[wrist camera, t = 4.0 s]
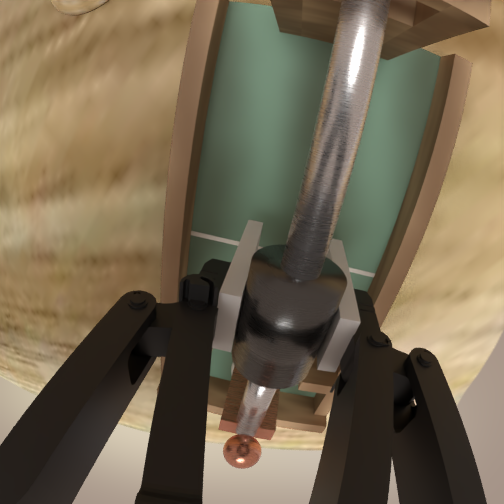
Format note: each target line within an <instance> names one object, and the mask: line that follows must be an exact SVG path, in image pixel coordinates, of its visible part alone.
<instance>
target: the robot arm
mask: <svg viewBox="0 0 504 504" xmlns="http://www.w3.org/2000/svg"><path fill="white" fill-rule="evenodd" d="M262 227H263V223H262V222H258V221H253V220H248V223H247V225H246V228H245V230H244V233H243V235H242V237H241V240H240V242H239V245H238V247H237V250H236V252H235V255H234V257H233V260H232V262H227V261H222V260H218V259H213V258H212V259H210V260H209V261H207V262H206V263H205V264H204V265H203V267H202V269H201V271H200V273H199V274H191V275H187V276H185V277H183V278H182V279H181V281H180V285H179V302H175V303H156V299H155V297H154V296H153V295H152V294H150V293H148V292H145V291H131V292H128V293H126V294H125V295H123V296H122V297H121V298H120V299H119V300H118V301H117V303H116V304H115V305H114V306H113V307H112V308H111V309H110V310H109V311H108V313H107V314H106V315H105V316H104V317H103V318H102V319H101V320H100V322H99V323H98V324H97V325H96V326H95V327H94V328H93V330H92V331H91V332H90V333H89V334H88V335H87V336H86V338H85V339H84V340H83V341H82V342H81V343H80V345H79V346H78V347H77V348H76V349H75V350H74V352H73V353H72V354H71V355H70V356H69V358H68V359H67V360H66V361H65V362H64V364H63V365H62V366H61V367H60V368H59V370H58V371H57V372H56V373H55V375H54V376H53V377H52V378H51V380H50V381H49V382H48V383H47V385H46V386H45V387H44V388H43V390H42V391H41V392H40V393H39V395H38V396H37V397H36V398H35V400H34V401H33V402H32V404H31V405H30V406H29V408H28V409H27V410H26V411H25V413H24V414H23V415H22V417H21V418H20V420H19V421H18V422H17V423H16V425H15V426H14V427H13V429H12V430H11V432H10V433H9V434H8V436H7V437H6V438H5V440H4V441H3V443H2V444H1V445H0V504H72V502H73V501H74V499H75V497H76V495H77V494H78V492H79V490H80V488H81V486H82V485H83V482H84V481H85V479H86V477H87V476H88V474H89V472H90V470H91V469H92V467H93V465H94V463H95V461H96V460H97V458H98V456H99V454H100V453H101V451H102V449H103V448H104V446H105V444H106V442H107V441H108V438H109V437H110V435H111V434H112V432H113V430H114V429H115V427H116V425H117V423H118V422H119V420H120V418H121V417H122V415H123V413H124V412H125V410H126V408H127V406H128V405H129V403H130V401H131V400H132V398H133V396H134V395H135V393H136V391H137V390H138V388H139V386H140V385H141V383H142V381H143V380H144V378H145V376H146V375H147V373H148V371H149V370H150V368H151V366H152V365H153V363H154V361H155V360H156V358H157V357H165V362H164V366H163V371H162V376H161V380H160V385H159V390H158V395H157V400H156V405H155V410H154V415H153V420H152V426H151V431H150V437H149V443H148V448H147V454H146V460H145V466H144V472H143V478H142V485H141V488H140V490H139V492H138V493H137V496H136V500H135V504H202V491H203V490H202V489H203V471H204V470H203V469H204V452H205V436H206V421H207V407H208V393H209V380H210V367H211V355H212V348H215V349H219V350H223V351H227V352H231V350H232V347H233V343H234V339H235V335H236V330H237V325H238V320H239V316H240V311H241V306H242V301H243V297H244V292H245V287H246V283H247V278H248V273H249V269H250V264H251V259H252V256H253V254H254V253H255V252H256V251H257V250H258V246H259V241H260V236H261V231H262ZM326 257H327V258H329V259H330V260H332V261H333V262H334V263H336V264H337V265H338V266H339V267H340V268H341V269H342V271H343V272H344V274H345V276H346V278H347V287H346V290H345V292H344V294H343V297H342V299H341V302H340V304H339V306H338V309H337V311H336V314H335V316H334V318H333V321H332V323H331V325H330V327H329V330H328V332H327V334H326V336H325V339H324V341H323V343H322V345H321V347H320V349H319V352H318V354H317V370H322V371H328V372H336V370H337V368H338V366H339V364H340V369H341V372H340V374H339V376H338V377H337V379H336V381H335V383H334V385H333V386H332V388H331V390H330V393H332V392H333V390H334V389H335V390H334V396H333V401H332V407H331V412H330V417H329V422H328V427H327V432H326V436H325V441H324V446H323V450H322V454H321V459H320V463H319V468H318V471H317V475H316V479H315V483H314V487H313V491H312V494H311V498H310V502H309V504H387V501H388V493H389V483H390V473H391V459H392V460H393V465H394V470H395V476H396V483H397V489H398V496H399V503H400V504H487V503H486V499H485V494H484V491H483V487H482V483H481V479H480V476H479V472H478V469H477V465H476V462H475V458H474V455H473V452H472V449H471V446H470V443H469V440H468V437H467V434H466V431H465V428H464V425H463V422H462V419H461V417H460V414H459V411H458V409H457V406H456V403H455V401H454V398H453V396H452V393H451V391H450V388H449V386H448V383H447V381H446V378H445V376H444V374H443V371H442V369H441V367H440V364H439V362H438V360H437V358H436V357H435V355H433V354H432V353H431V352H430V351H428V350H426V349H423V348H414V349H413V350H411V352H410V354H409V355H408V354H406V353H403V352H401V351H398V350H396V349H394V348H392V343H391V340H390V339H389V337H388V336H387V335H385V334H384V333H383V332H381V331H380V327H379V323H378V319H377V316H376V313H375V308H374V305H373V301H372V298H371V297H370V296H369V294H368V293H367V292H366V291H363V290H359V289H354V288H353V284H352V279H351V275H350V271H349V267H348V263H347V259H346V255H345V251H344V247H343V243H342V240H337V239H333V238H332V240H331V243H330V246H329V249H328V252H327V256H326ZM414 399H415V401H416V404H417V405H415V403H414Z"/></svg>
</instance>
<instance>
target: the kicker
mask: <svg viewBox="0 0 504 504" xmlns="http://www.w3.org/2000/svg"><path fill="white" fill-rule="evenodd" d="M389 6H390V0H342V2H341V7H340V13H339V18H338V23H337V28H336V33H335V37H334V42H333V47H332V52H331V57H330V61H329V66H328V71H327V75H326V80H325V84H324V89H323V93H322V98H321V102H320V107H319V111H318V116H317V120H316V124H315V129H314V133H313V137H312V141H311V146H310V150H309V154H308V158H307V162H306V166H305V171H304V175H303V179H302V183H301V187H300V191H299V195H298V199H297V203H296V207H295V211H294V215H293V219H292V222H291V226H290V230H289V234H288V238H287V242H286V245H270V246H266V247H263V248H261V249H259V250H257V251H256V252H255V253H254V254H253V256H252V259H251V264H250V269H249V273H248V278H247V283H246V287H245V292H244V297H243V301H242V306H241V311H240V316H239V320H238V325H237V330H236V335H235V339H234V343H233V348H232V360H233V363H234V369H233V373H232V377H231V381H230V385H229V389H228V393H227V397H226V401H225V405H224V409H223V413H222V417H221V421H220V425H219V430H223V431H227V432H232V433H236V434H238V435H234V436H232V437H231V438H229V439H228V440H227V441H226V443H225V445H224V448H223V454H224V457H225V459H226V461H227V462H228V463H229V464H230V465H232V466H234V467H236V468H241V469H242V468H249V467H251V466H253V465H254V464H256V463H257V462H258V460H259V459H260V456H261V447H260V444H259V442H258V441H257V440H256V439H255V438H253V437H256V438H261V439H267V440H271V438H272V436H273V434H274V432H275V429H276V420H277V412H278V403H279V394H280V389H285V388H290V387H293V386H295V385H297V384H299V383H300V382H302V381H303V380H304V379H305V378H306V376H307V375H308V373H309V371H310V369H311V366H312V364H313V362H314V360H315V358H316V356H317V354H318V352H319V349H320V347H321V345H322V343H323V341H324V339H325V336H326V334H327V332H328V330H329V327H330V325H331V323H332V321H333V318H334V316H335V314H336V311H337V309H338V306H339V304H340V302H341V299H342V297H343V294H344V292H345V290H346V287H347V278H346V276H345V274H344V272H343V271H342V269H341V268H340V267H339V266H338V265H337V264H336V263H334V262H333V261H332V260H330V259H329V258H327V257H326V256H327V252H328V249H329V246H330V243H331V240H332V237H333V234H334V231H335V228H336V225H337V221H338V218H339V215H340V212H341V208H342V205H343V202H344V198H345V195H346V192H347V188H348V185H349V181H350V178H351V174H352V171H353V167H354V163H355V160H356V156H357V152H358V149H359V145H360V141H361V137H362V133H363V130H364V126H365V122H366V118H367V113H368V109H369V105H370V101H371V97H372V92H373V88H374V83H375V79H376V74H377V70H378V65H379V60H380V55H381V50H382V45H383V40H384V34H385V29H386V23H387V18H388V12H389Z"/></svg>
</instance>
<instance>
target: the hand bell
mask: <svg viewBox="0 0 504 504" xmlns="http://www.w3.org/2000/svg"><path fill="white" fill-rule="evenodd" d="M107 1H108V0H51V2H52V4H53V5H54V7H55V8H56V9H57V10H58V11H59V12H61V13H63V14H66V15H80V14H84V13H87V12H90V11H92V10H94V9H96V8H98V7H99V6H101V5H103V4H104V3H105V2H107Z"/></svg>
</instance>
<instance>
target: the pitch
mask: <svg viewBox="0 0 504 504" xmlns="http://www.w3.org/2000/svg"><path fill="white" fill-rule="evenodd" d="M270 1H271V4H272V6H267V5H259V4H251V3H241V2H230V1H228V0H197V2H196V6H195V10H194V14H193V19H192V23H191V28H190V33H189V38H188V43H187V48H186V53H185V58H184V64H183V69H182V75H181V81H180V87H179V93H178V99H177V106H176V113H175V120H174V127H173V135H172V143H171V152H170V160H169V170H168V180H167V191H166V202H165V215H164V230H163V248H162V270H161V303H175V302H179V285H180V281H181V279H182V278H183V277H185V276H187V275H191V274H199V273H200V271H201V269H202V267H203V265H204V264H205V263H206V262H207V261H209V260H210V259H212V258H213V259H218V260H222V261H227V262H232V260H233V257H234V255H235V252H236V250H237V247H238V245H239V242H240V240H241V237H242V235H243V233H244V230H245V228H246V225H247V223H248V220H253V221H258V222H262V223H263V227H262V231H261V236H260V241H259V246H258V250H259V249H261V248H263V247H266V246H270V245H286V242H287V238H288V234H289V230H290V226H291V222H292V219H293V215H294V211H295V207H296V203H297V199H298V195H299V191H300V187H301V183H302V179H303V175H304V171H305V166H306V162H307V158H308V154H309V150H310V146H311V141H312V137H313V133H314V129H315V124H316V120H317V116H318V111H319V107H320V102H321V98H322V93H323V89H324V84H325V80H326V75H327V71H328V66H329V61H330V57H331V52H332V47H333V42H334V37H335V33H336V28H337V23H338V18H339V13H340V7H341V2H342V0H270ZM490 13H491V0H390V6H389V12H388V18H387V23H386V29H385V34H384V40H383V45H382V50H381V55H380V60H379V65H378V70H377V74H376V79H375V83H374V88H373V92H372V97H371V101H370V105H369V109H368V113H367V118H366V122H365V126H364V130H363V133H362V137H361V141H360V145H359V149H358V152H357V156H356V160H355V163H354V167H353V171H352V174H351V178H350V181H349V185H348V188H347V192H346V195H345V198H344V202H343V205H342V208H341V212H340V215H339V218H338V221H337V225H336V228H335V231H334V234H333V237H332V238H333V239H337V240H342V243H343V247H344V251H345V255H346V259H347V263H348V267H349V271H350V275H351V279H352V284H353V288H354V289H359V290H363V291H366V292H367V293H368V294H369V296H370V297H371V298H372V301H373V305H374V308H375V313H376V316H377V319H378V323H379V327H381V325H382V323H383V322H384V320H385V318H386V316H387V314H388V312H389V310H390V308H391V306H392V304H393V302H394V300H395V298H396V296H397V294H398V292H399V290H400V288H401V286H402V284H403V281H404V279H405V277H406V275H407V273H408V271H409V268H410V266H411V264H412V262H413V259H414V257H415V255H416V252H417V250H418V248H419V245H420V243H421V240H422V238H423V236H424V233H425V231H426V228H427V226H428V223H429V220H430V218H431V215H432V212H433V210H434V207H435V204H436V201H437V199H438V196H439V193H440V190H441V187H442V184H443V181H444V178H445V175H446V172H447V169H448V165H449V162H450V159H451V156H452V152H453V149H454V145H455V142H456V138H457V134H458V130H459V126H460V122H461V118H462V114H463V110H464V106H465V101H466V96H467V91H468V86H469V81H470V76H471V70H472V64H473V63H472V62H470V61H468V60H466V59H464V58H462V57H460V56H458V55H457V54H452V55H447V56H443V57H440V56H438V55H435V54H433V53H431V52H429V51H426V50H424V49H422V47H425V46H427V45H430V44H433V43H436V42H439V41H442V40H445V39H448V38H451V37H454V36H458V35H461V34H464V33H468V32H471V31H475V30H478V29H482V28H485V27H489V26H490ZM232 348H233V347H232ZM164 362H165V357H161V376H162V371H163V366H164ZM232 363H233V360H232V350H231V352H227V351H223V350H219V349H215V348H212V355H211V367H210V380H209V393H208V407H207V412H211V413H215V414H219V415H222V413H223V409H224V405H225V401H226V397H227V393H228V389H229V385H230V381H231V377H232V374H231V367H232ZM340 372H341V369H340V364H339V366H338V368H337V370H336V372H328V371H322V370H317V356H316V358H315V360H314V362H313V364H312V366H311V369H310V371H309V373H308V375H307V376H306V378H305V379H304V380H303V381H302V382H300V383H299V384H297V385H295V386H293V387H290V388H285V389H280V394H279V403H278V412H277V420H276V426H277V427H283V428H289V429H295V430H302V431H310V432H318V433H322V432H323V431H324V429H325V428H326V416H327V414H328V413H329V411H330V410H331V407H332V401H333V396H334V390H335V389H334V390H333V392H332V393H330V390H331V388H332V386H333V385H334V383H335V381H336V379H337V377H338V376H339V374H340ZM159 385H160V384H159ZM158 390H159V386H158V389H157V395H158Z"/></svg>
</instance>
